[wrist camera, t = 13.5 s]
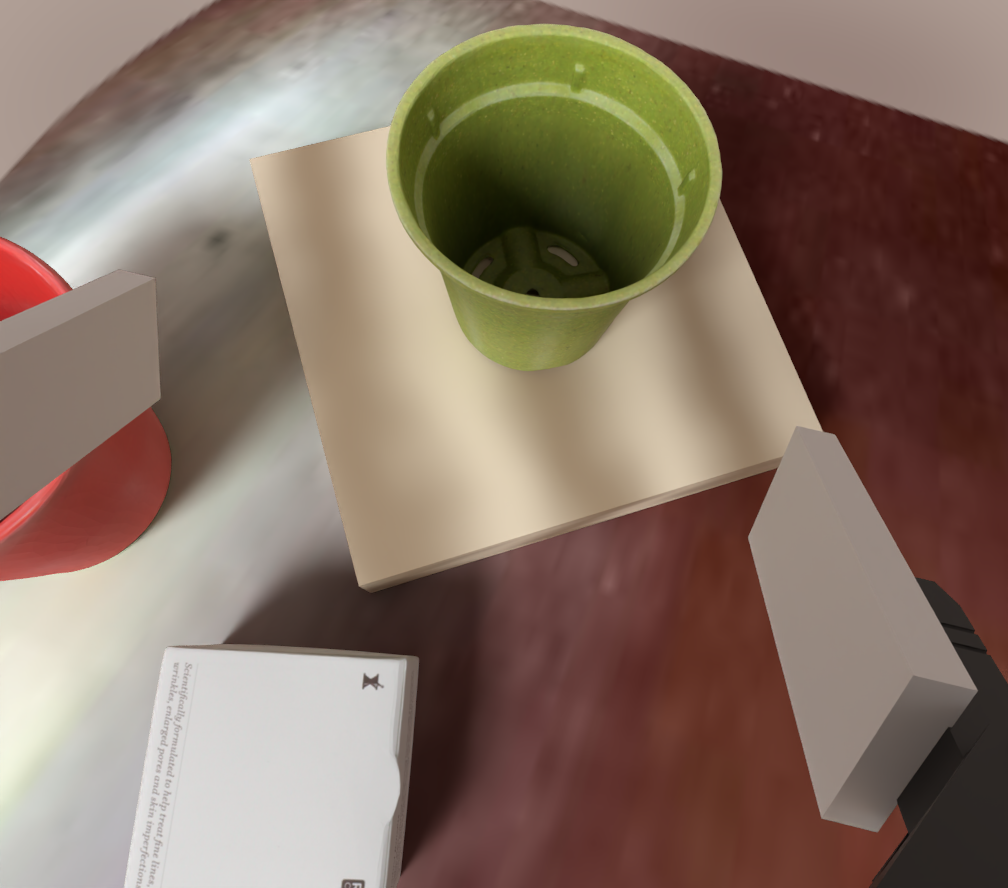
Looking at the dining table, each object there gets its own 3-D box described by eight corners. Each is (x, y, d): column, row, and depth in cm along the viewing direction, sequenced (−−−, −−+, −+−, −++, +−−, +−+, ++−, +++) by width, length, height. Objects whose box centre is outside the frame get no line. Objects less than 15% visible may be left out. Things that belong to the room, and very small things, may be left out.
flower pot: (118, 300, 32) (-32, 151, 22) (265, 496, 30) (167, 422, 20) (-115, 451, 30) (-389, 356, 20) (26, 673, 27) (-207, 681, 18)
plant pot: (491, 158, 31) (496, -28, 22) (693, 266, 30) (777, 112, 21) (365, 334, 28) (317, 201, 20) (579, 459, 27) (624, 371, 19)
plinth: (644, 111, 35) (659, 62, 32) (794, 462, 31) (827, 442, 28) (269, 202, 33) (249, 159, 30) (370, 593, 29) (358, 585, 26)
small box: (217, 641, 28) (161, 638, 23) (423, 654, 28) (412, 654, 23) (179, 871, 26) (109, 922, 21) (403, 884, 26) (386, 938, 21)
